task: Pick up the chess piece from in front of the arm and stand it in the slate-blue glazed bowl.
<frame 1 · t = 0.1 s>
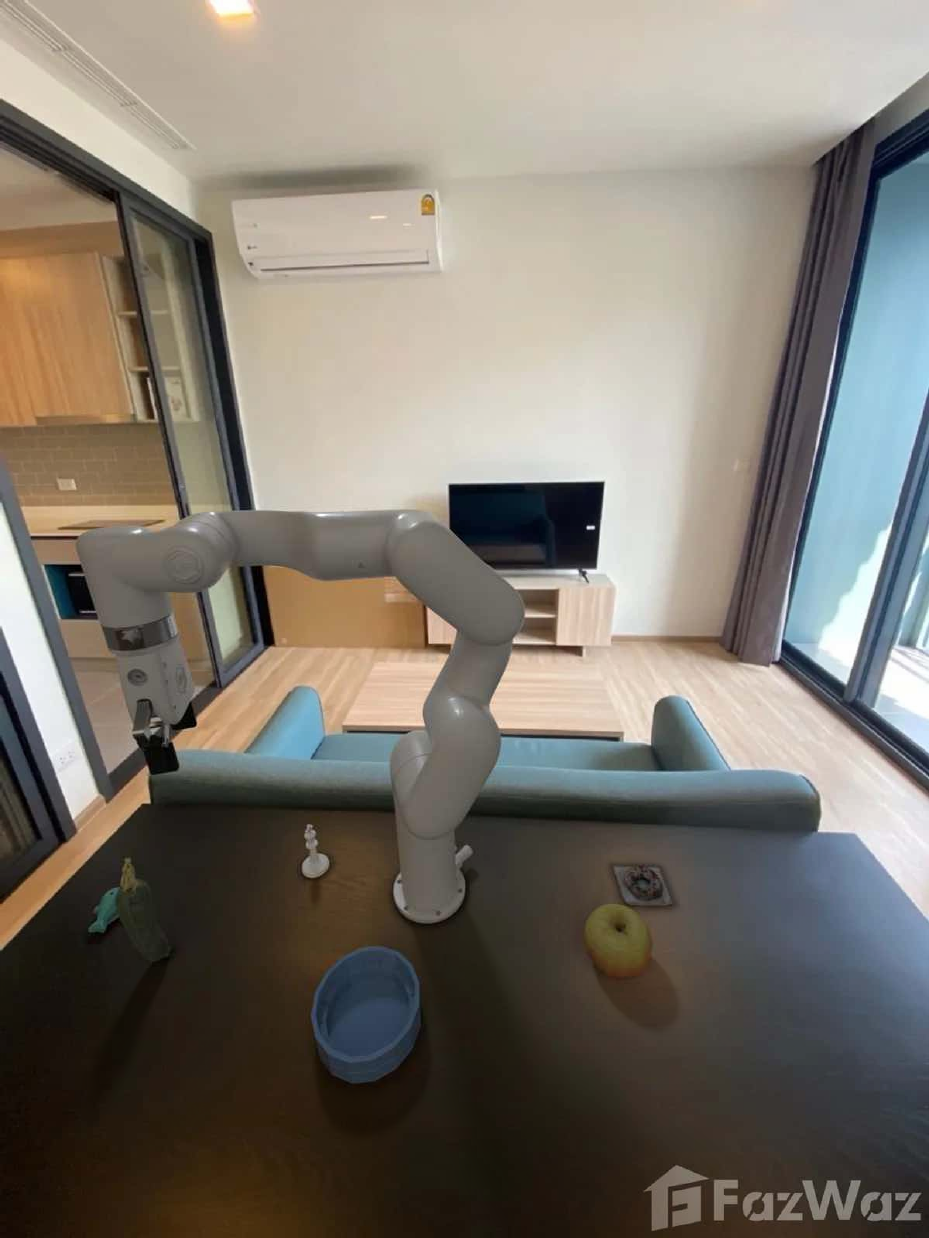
hand: (175, 748, 66), 37 cm above the table, tool pointing down, fingers open, 9 cm apart
vegetable: (157, 961, 77), on the table
donut: (641, 885, 88), on the table
bowl: (369, 1021, 69), on the table
apple: (614, 957, 76), on the table
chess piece: (315, 867, 93), on the table
whale figurine: (113, 916, 84), on the table
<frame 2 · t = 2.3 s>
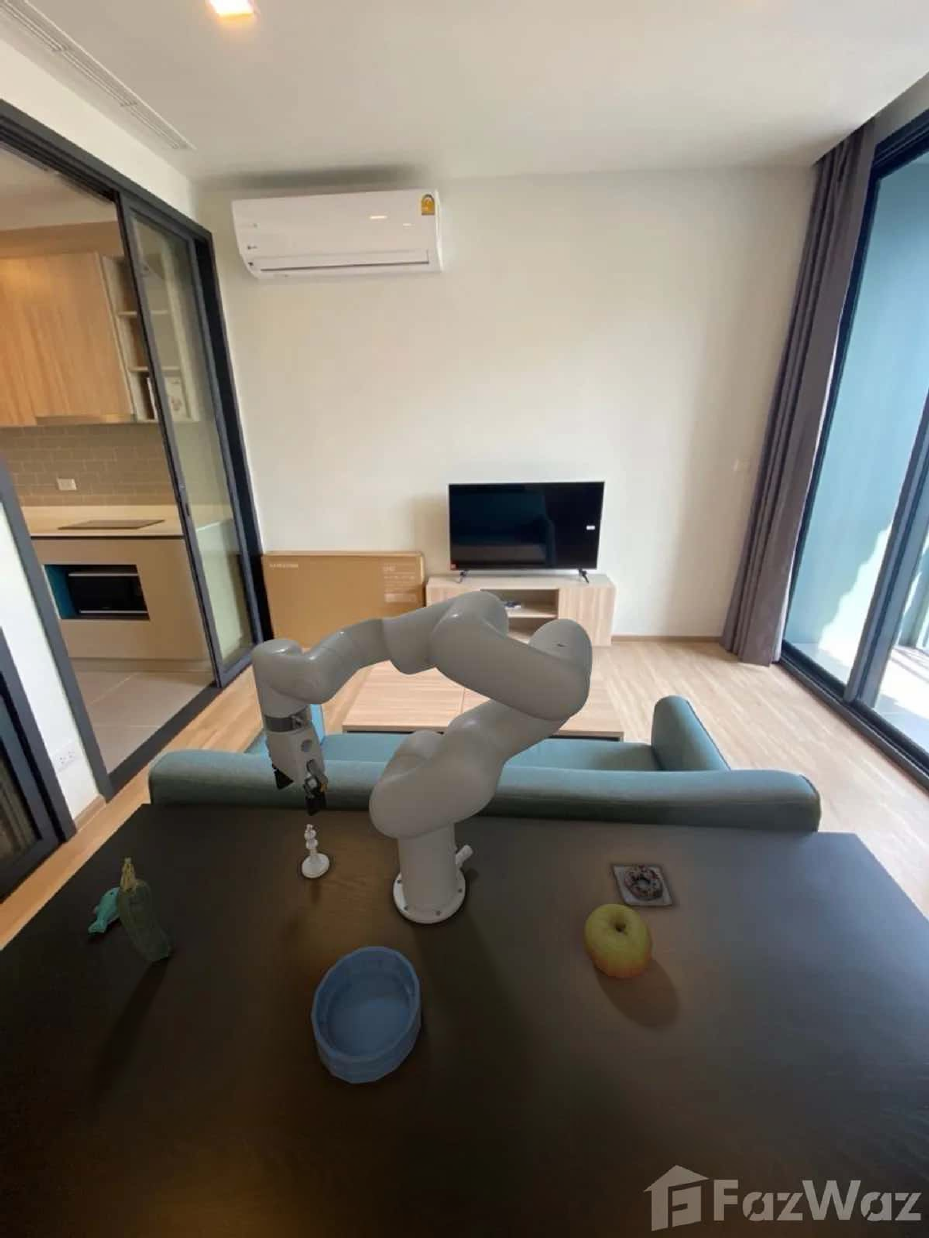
hand: (301, 797, 87), 16 cm above the table, tool pointing down, fingers open, 9 cm apart
nothing on the table moved.
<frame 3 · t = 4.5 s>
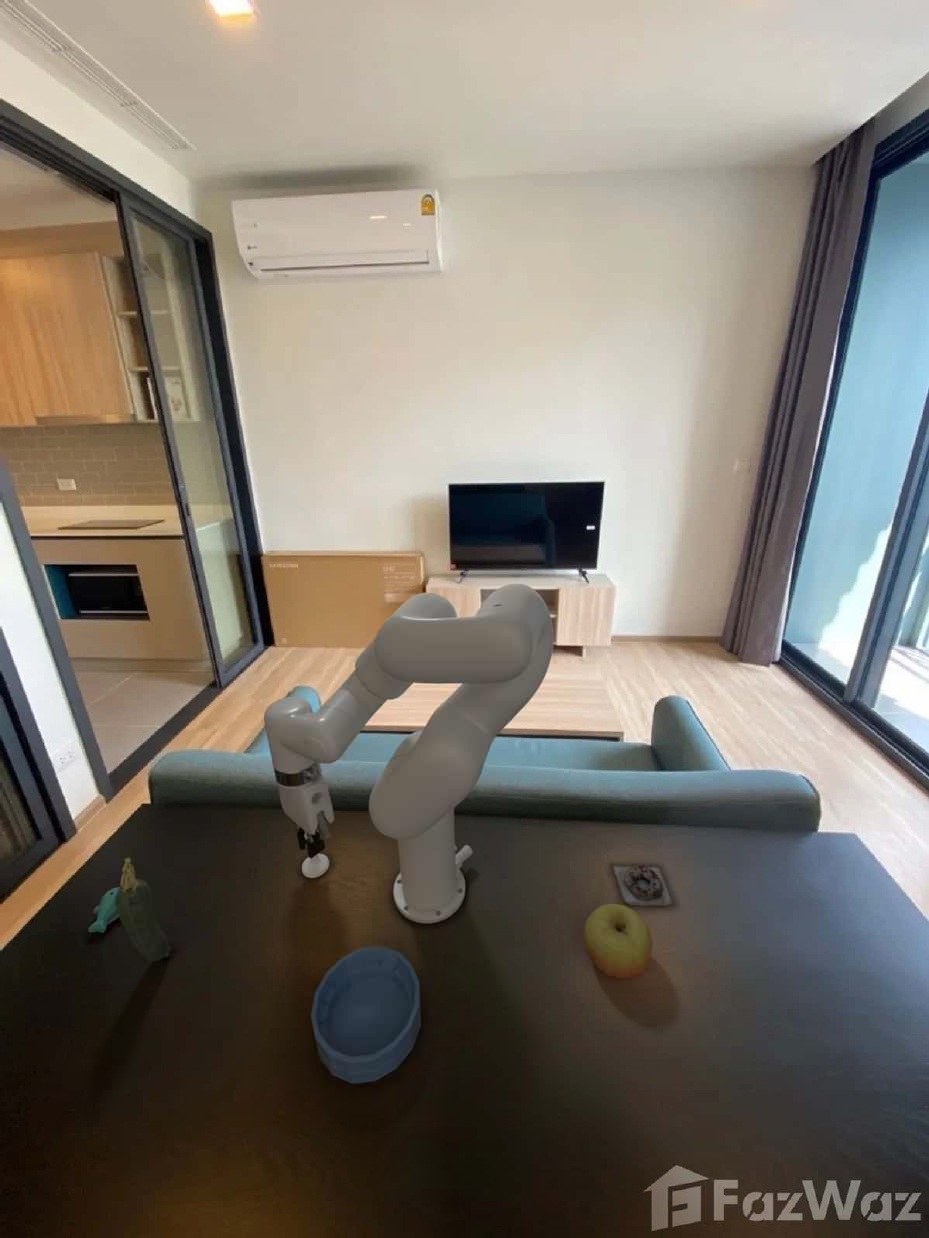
hand: (312, 848, 91), 5 cm above the table, tool pointing down, fingers closed on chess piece
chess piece: (315, 867, 93), on the table, touching gripper
everything else where it was.
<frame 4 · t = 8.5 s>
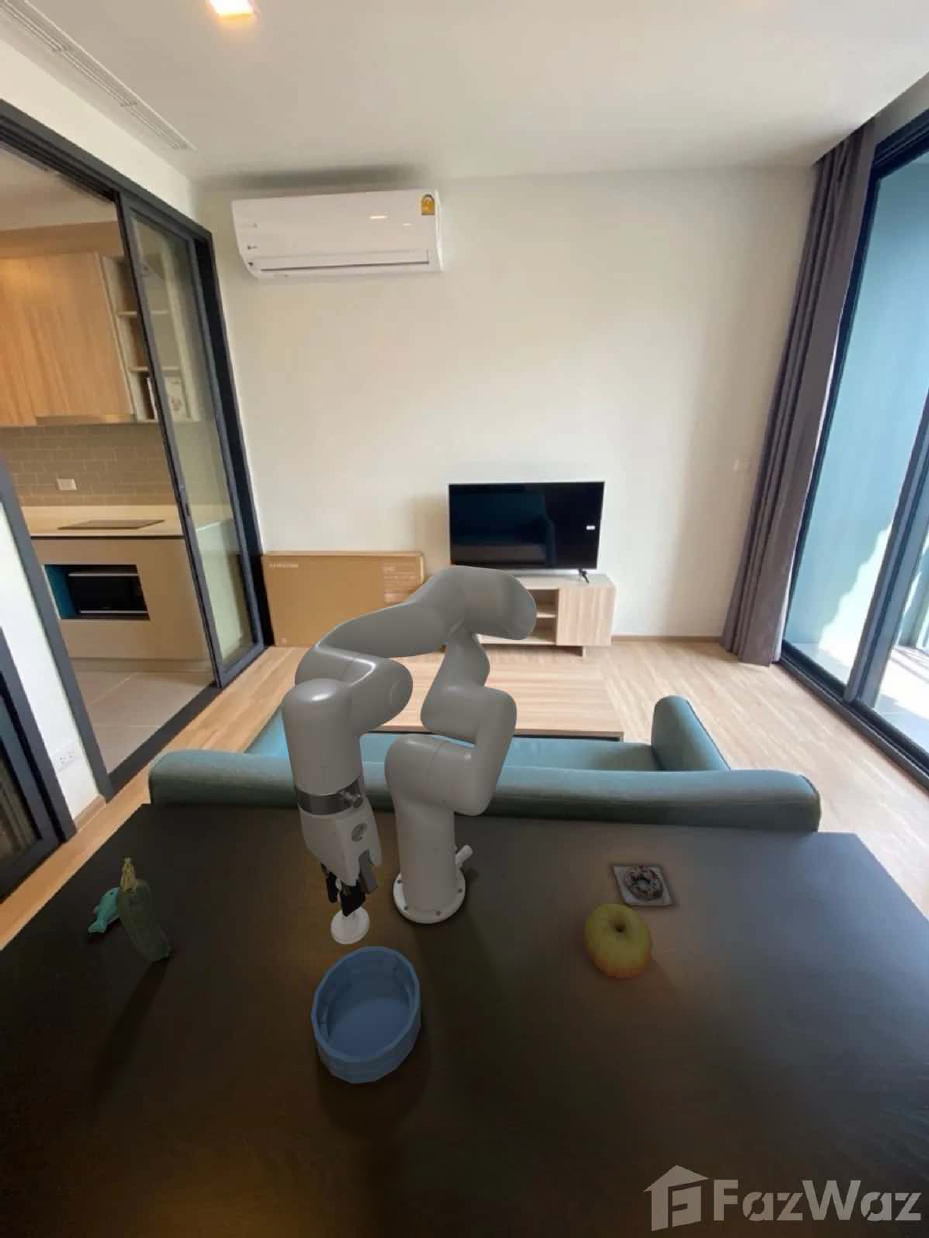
hand: (347, 900, 63), 21 cm above the table, tool pointing down, fingers closed on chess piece
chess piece: (350, 926, 65), point 16 cm above the table, touching gripper
everything else where it was.
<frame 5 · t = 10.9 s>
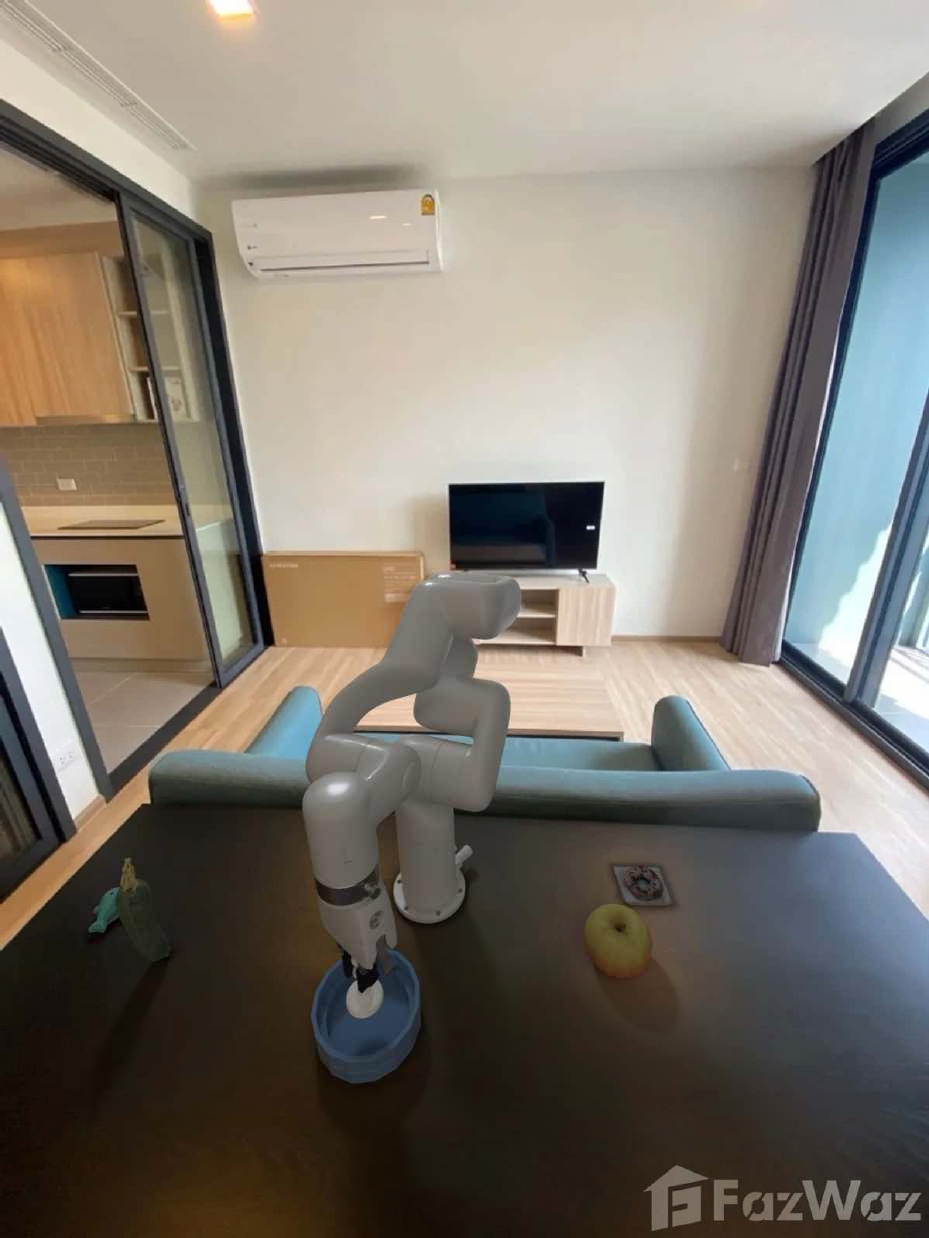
hand: (362, 974, 65), 10 cm above the table, tool pointing down, fingers closed on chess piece
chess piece: (365, 998, 67), point 5 cm above the table, touching gripper
everything else where it was.
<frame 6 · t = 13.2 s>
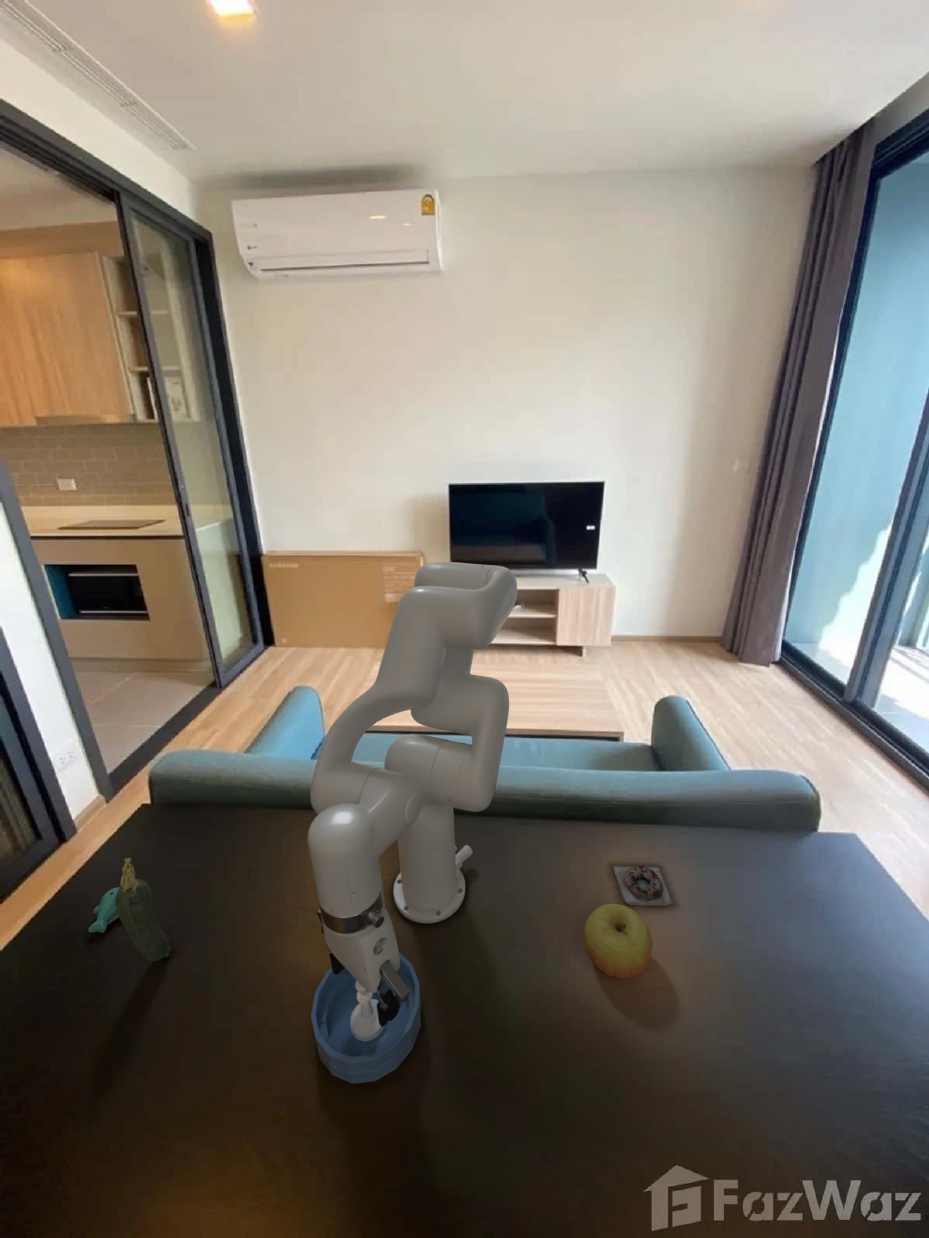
hand: (365, 989, 67), 7 cm above the table, tool pointing down, fingers open, 9 cm apart
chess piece: (368, 1021, 69), resting on bowl
everything else where it was.
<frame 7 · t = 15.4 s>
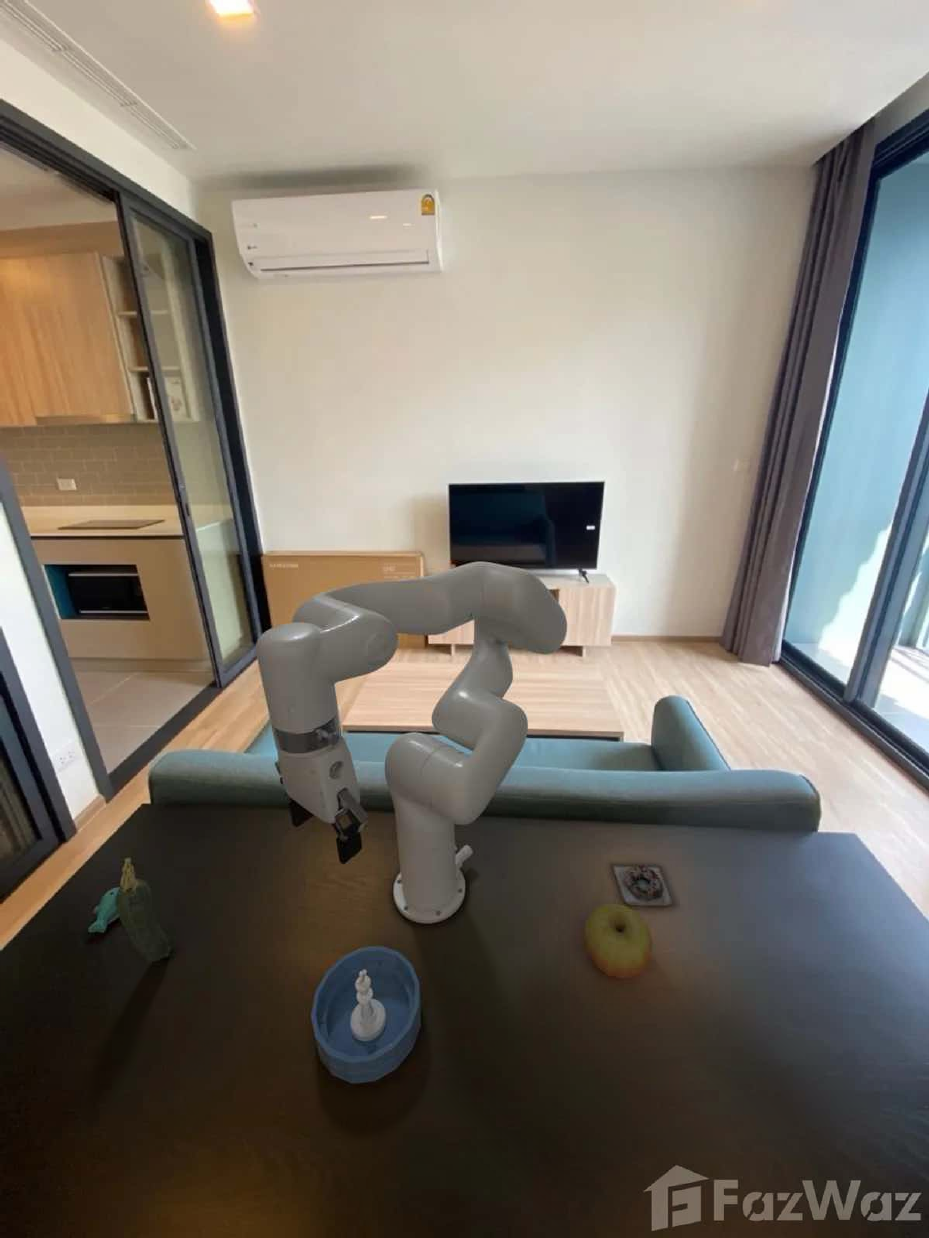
hand: (326, 837, 65), 27 cm above the table, tool pointing down, fingers open, 9 cm apart
nothing on the table moved.
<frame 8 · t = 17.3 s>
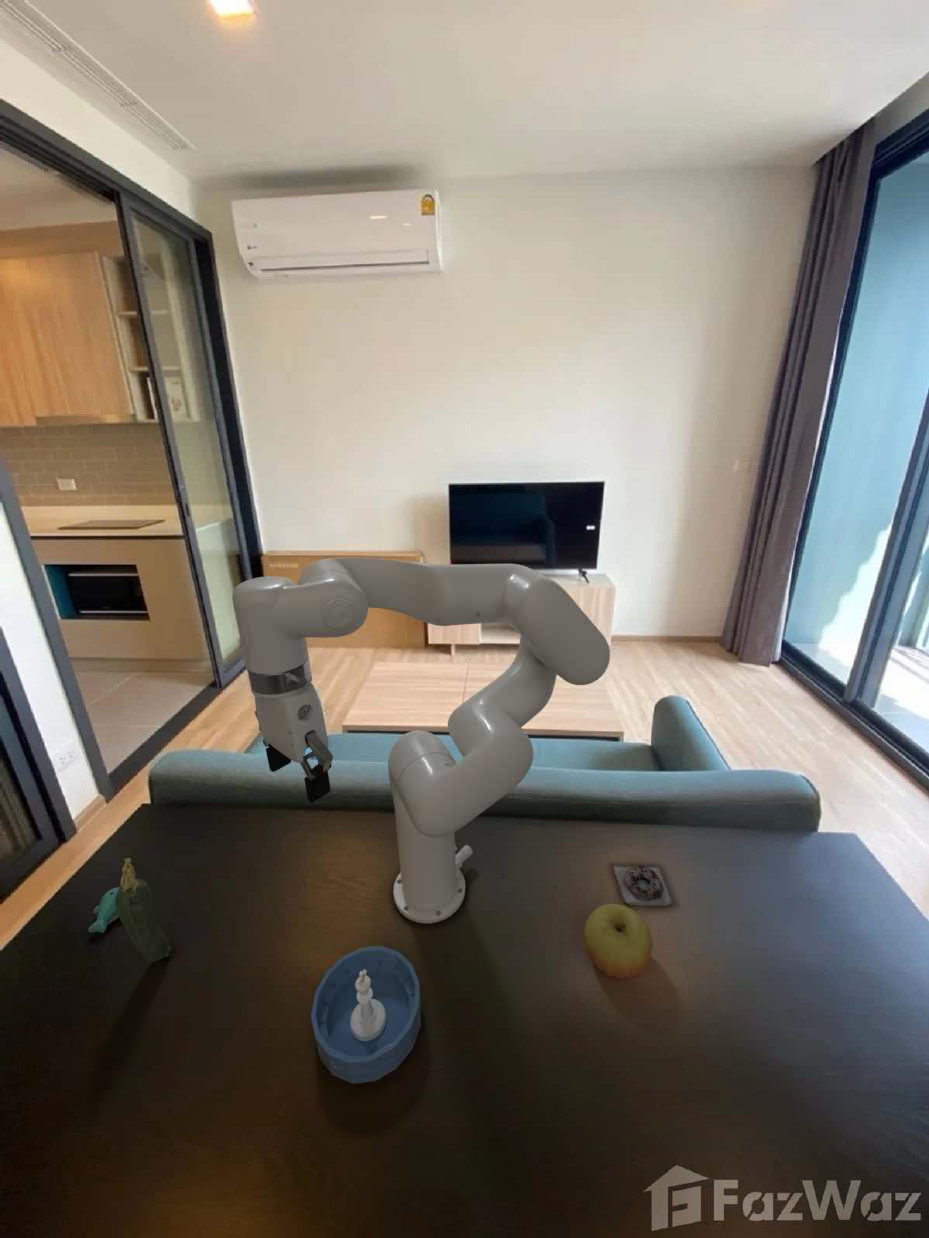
hand: (299, 780, 70), 30 cm above the table, tool pointing down, fingers open, 9 cm apart
nothing on the table moved.
at the end: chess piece inside the target area in the bowl (0.2 cm from its centre), point 0.3 cm above the bowl's base; the gripper is holding nothing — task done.
